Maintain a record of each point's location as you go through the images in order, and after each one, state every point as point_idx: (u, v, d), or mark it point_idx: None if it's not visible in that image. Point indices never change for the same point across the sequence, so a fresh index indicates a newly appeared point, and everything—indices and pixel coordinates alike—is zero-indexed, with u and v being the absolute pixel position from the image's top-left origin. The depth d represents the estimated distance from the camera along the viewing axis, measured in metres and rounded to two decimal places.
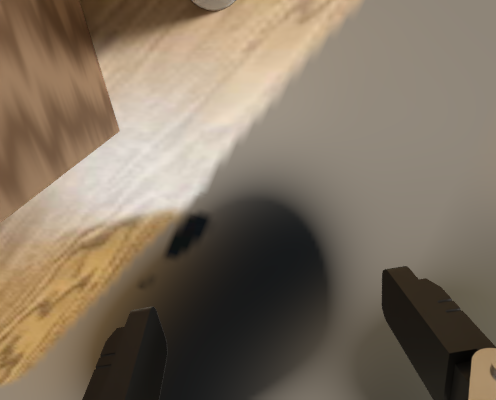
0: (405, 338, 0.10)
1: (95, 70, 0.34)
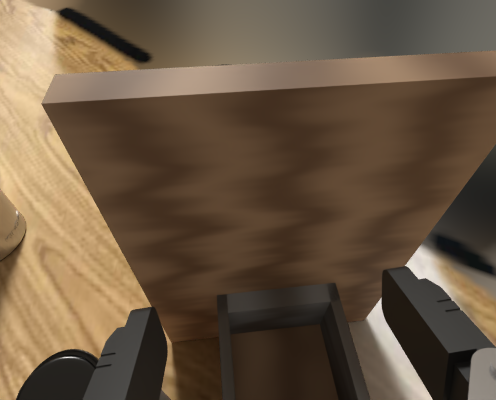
0: (405, 338, 0.10)
1: None
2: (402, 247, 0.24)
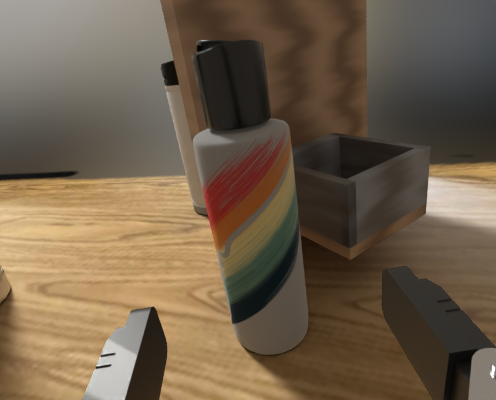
0: (405, 338, 0.10)
1: None
2: (358, 79, 0.35)
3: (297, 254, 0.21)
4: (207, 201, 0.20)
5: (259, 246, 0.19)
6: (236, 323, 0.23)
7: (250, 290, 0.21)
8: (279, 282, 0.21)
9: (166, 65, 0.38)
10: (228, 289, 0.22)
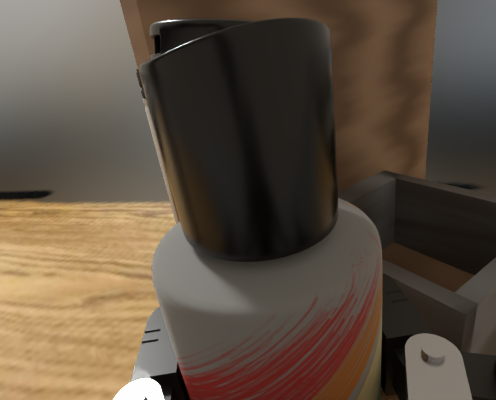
0: None
1: None
2: (420, 92, 0.24)
3: None
4: (187, 389, 0.09)
5: None
6: None
7: None
8: None
9: None
10: None
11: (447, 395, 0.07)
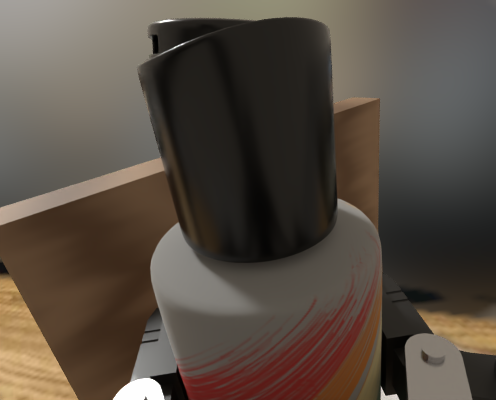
0: None
1: None
2: None
3: None
4: (186, 390, 0.09)
5: None
6: None
7: None
8: None
9: None
10: None
11: (447, 395, 0.07)
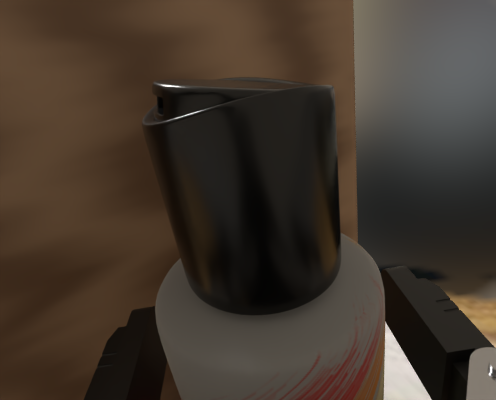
0: (403, 338, 0.11)
1: None
2: None
3: None
4: None
5: None
6: None
7: None
8: None
9: None
10: None
11: None
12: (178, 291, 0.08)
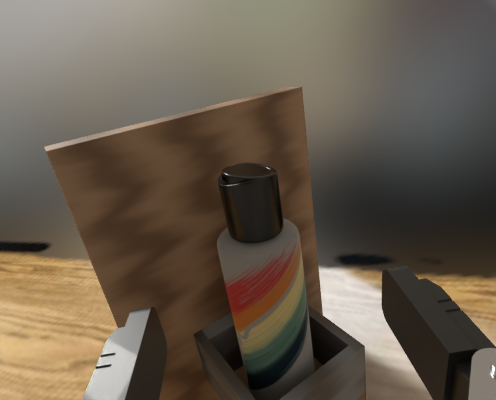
0: (405, 338, 0.10)
1: None
2: (304, 228, 0.34)
3: (306, 334, 0.25)
4: (229, 294, 0.23)
5: (274, 334, 0.23)
6: (252, 389, 0.27)
7: (266, 367, 0.24)
8: (290, 360, 0.24)
9: None
10: (246, 362, 0.26)
11: None
12: (225, 240, 0.23)
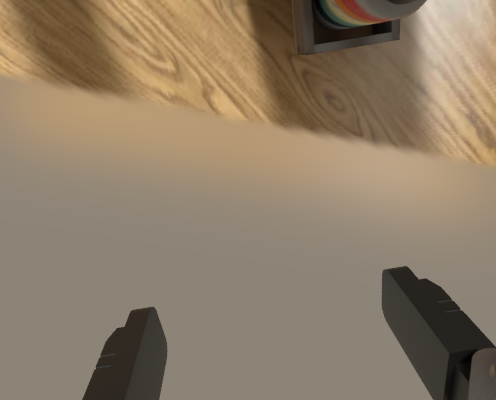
0: (405, 338, 0.10)
1: None
2: None
3: None
4: None
5: (351, 22, 0.30)
6: (315, 5, 0.35)
7: (332, 19, 0.33)
8: (349, 27, 0.33)
9: None
10: (322, 0, 0.33)
11: None
12: None
